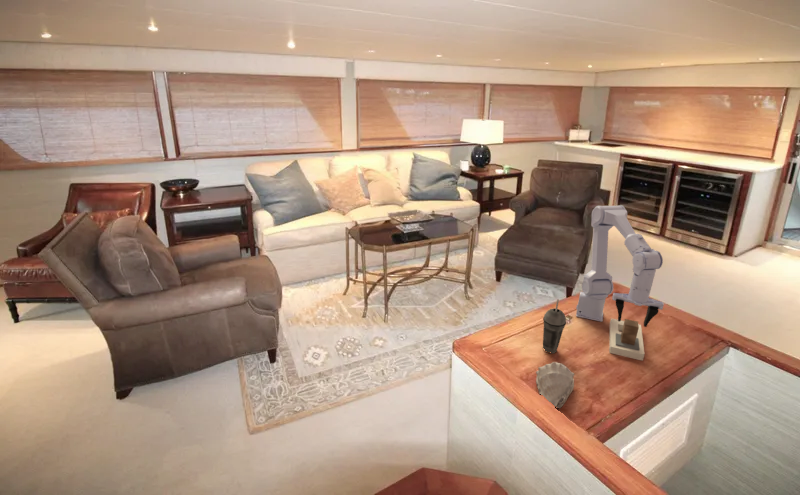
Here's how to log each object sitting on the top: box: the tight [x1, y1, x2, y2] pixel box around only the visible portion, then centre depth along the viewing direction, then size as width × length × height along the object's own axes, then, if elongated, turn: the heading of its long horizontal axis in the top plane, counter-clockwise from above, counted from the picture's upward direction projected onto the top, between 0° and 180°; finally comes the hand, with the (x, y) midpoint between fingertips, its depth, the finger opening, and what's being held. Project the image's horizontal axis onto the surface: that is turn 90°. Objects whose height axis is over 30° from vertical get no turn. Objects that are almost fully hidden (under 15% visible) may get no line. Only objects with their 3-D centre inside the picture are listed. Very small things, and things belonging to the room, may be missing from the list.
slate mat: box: [616, 333, 639, 351], centre depth 142 cm, size 7×7×1 cm
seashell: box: [535, 361, 575, 409], centre depth 121 cm, size 12×14×10 cm
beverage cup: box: [542, 298, 567, 354], centre depth 139 cm, size 7×7×20 cm
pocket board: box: [608, 318, 645, 361], centre depth 147 cm, size 10×20×2 cm, turn 155°
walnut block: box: [621, 318, 639, 345], centre depth 141 cm, size 4×4×7 cm
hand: (631, 322), depth 140 cm, fingers open, 7 cm apart
